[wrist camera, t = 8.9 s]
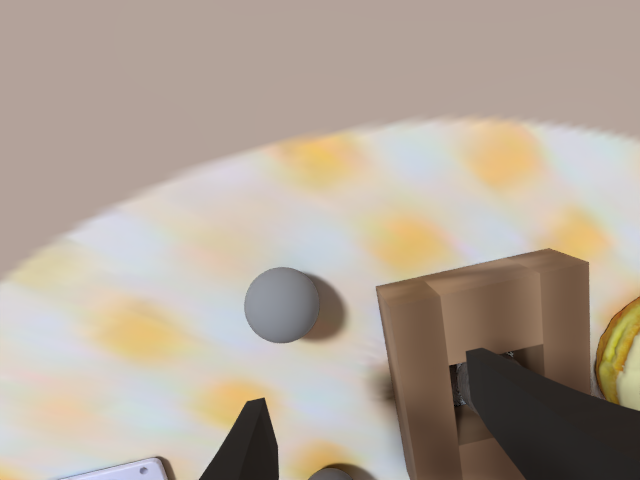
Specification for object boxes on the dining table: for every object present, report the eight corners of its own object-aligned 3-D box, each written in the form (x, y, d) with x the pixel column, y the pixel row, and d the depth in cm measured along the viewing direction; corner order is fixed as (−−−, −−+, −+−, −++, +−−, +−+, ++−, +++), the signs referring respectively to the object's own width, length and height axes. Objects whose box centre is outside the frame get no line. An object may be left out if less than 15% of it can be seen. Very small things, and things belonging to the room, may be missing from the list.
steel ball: (448, 400, 24) (485, 445, 20) (441, 347, 23) (479, 384, 19) (503, 383, 24) (549, 425, 20) (498, 330, 23) (546, 363, 19)
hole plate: (407, 470, 25) (422, 512, 22) (375, 286, 22) (389, 306, 19) (556, 434, 25) (591, 470, 22) (548, 248, 22) (588, 262, 19)
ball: (257, 328, 22) (250, 366, 18) (241, 266, 21) (230, 292, 17) (322, 314, 22) (330, 348, 18) (308, 251, 21) (314, 273, 17)
